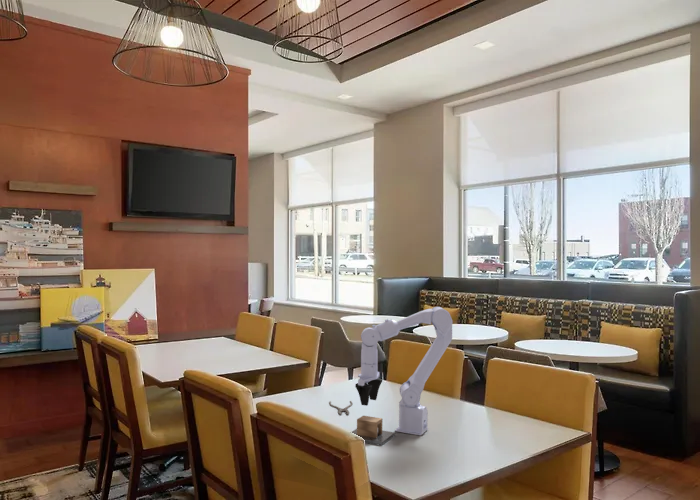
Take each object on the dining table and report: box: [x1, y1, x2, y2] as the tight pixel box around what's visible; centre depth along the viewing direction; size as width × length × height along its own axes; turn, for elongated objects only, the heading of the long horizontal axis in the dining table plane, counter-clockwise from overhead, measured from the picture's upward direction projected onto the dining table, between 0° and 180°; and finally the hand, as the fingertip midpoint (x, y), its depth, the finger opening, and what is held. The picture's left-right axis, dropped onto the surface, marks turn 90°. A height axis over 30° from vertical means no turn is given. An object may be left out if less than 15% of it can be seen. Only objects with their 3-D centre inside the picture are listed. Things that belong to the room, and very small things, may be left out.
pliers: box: [328, 400, 353, 416], centre depth 212 cm, size 10×1×20 cm
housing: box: [356, 415, 383, 438], centre depth 178 cm, size 7×5×5 cm
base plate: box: [351, 427, 396, 446], centre depth 177 cm, size 13×11×4 cm
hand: (368, 402), depth 185 cm, fingers open, 7 cm apart
